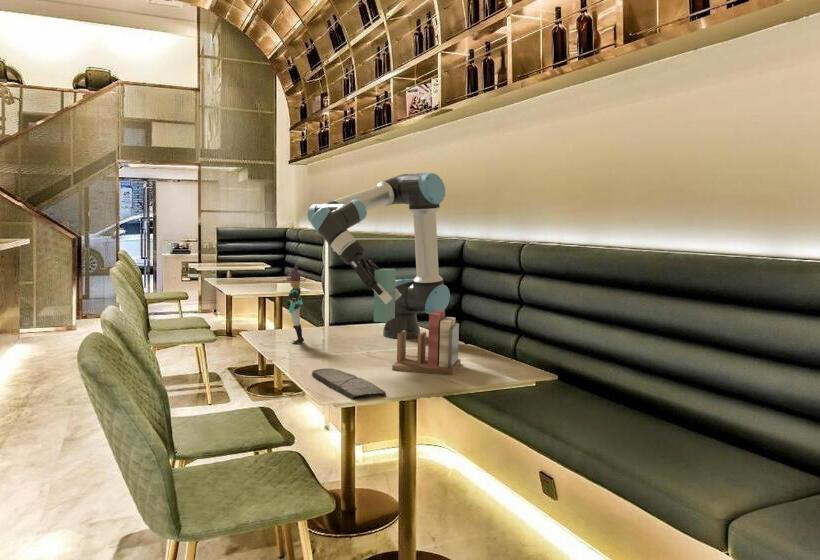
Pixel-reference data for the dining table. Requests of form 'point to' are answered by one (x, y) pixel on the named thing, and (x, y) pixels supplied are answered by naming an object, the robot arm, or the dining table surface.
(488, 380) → the dining table surface
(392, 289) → the book
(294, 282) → the figurine
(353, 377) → the stone slab
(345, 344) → the dining table surface
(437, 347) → the book rack
